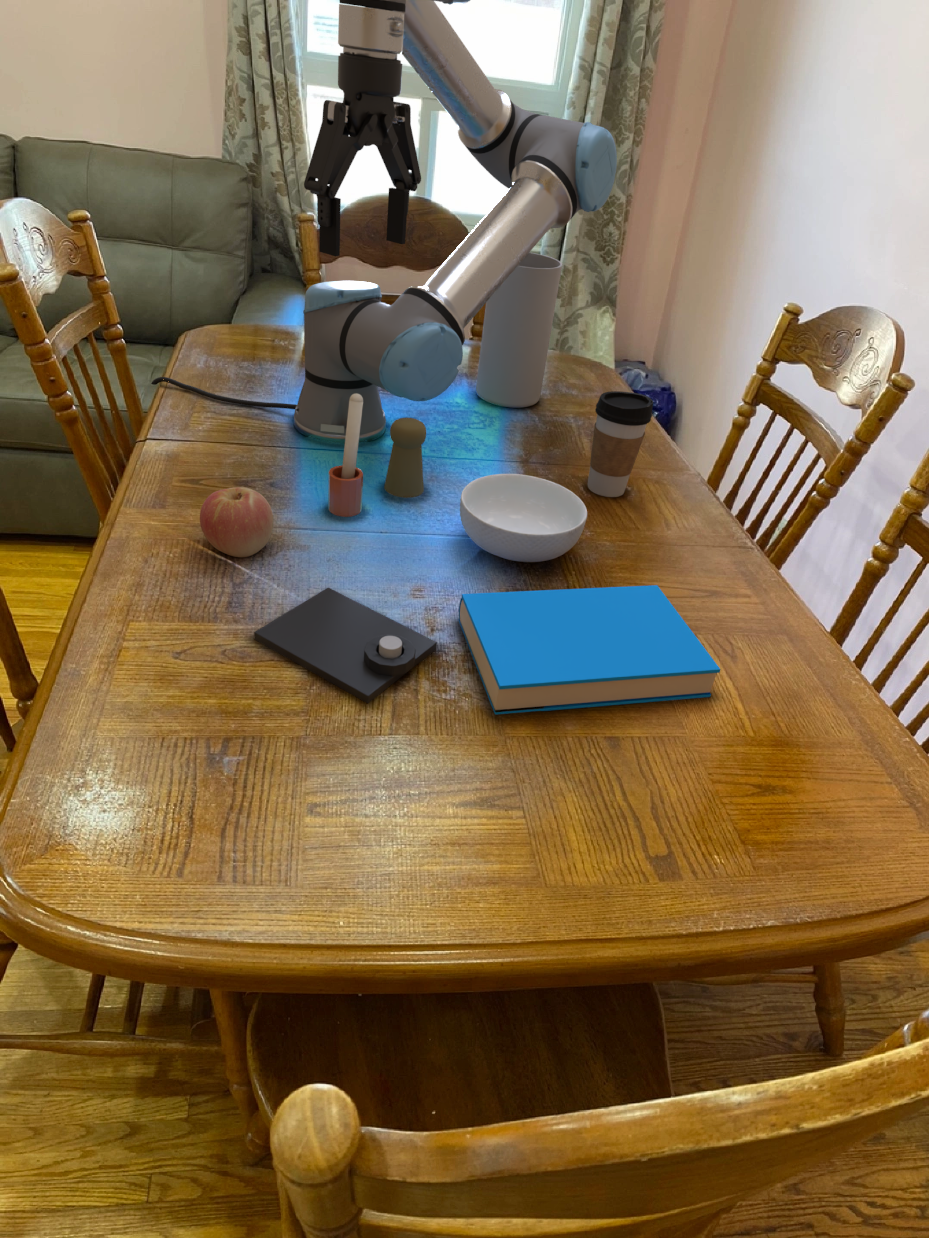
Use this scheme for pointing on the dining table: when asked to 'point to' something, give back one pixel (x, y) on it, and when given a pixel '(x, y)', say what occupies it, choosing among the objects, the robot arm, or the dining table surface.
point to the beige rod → (352, 436)
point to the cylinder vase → (518, 333)
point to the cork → (406, 458)
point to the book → (583, 648)
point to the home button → (390, 647)
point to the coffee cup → (617, 440)
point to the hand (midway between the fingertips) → (364, 248)
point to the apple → (237, 521)
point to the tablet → (344, 643)
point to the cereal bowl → (521, 517)
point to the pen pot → (344, 493)
